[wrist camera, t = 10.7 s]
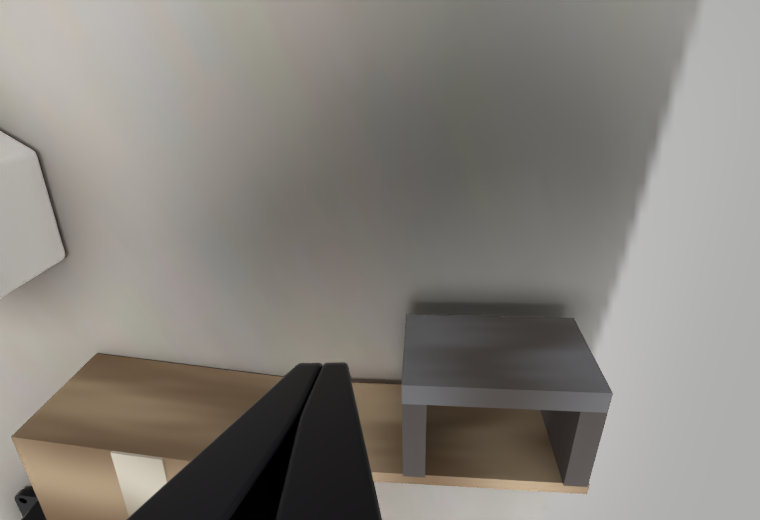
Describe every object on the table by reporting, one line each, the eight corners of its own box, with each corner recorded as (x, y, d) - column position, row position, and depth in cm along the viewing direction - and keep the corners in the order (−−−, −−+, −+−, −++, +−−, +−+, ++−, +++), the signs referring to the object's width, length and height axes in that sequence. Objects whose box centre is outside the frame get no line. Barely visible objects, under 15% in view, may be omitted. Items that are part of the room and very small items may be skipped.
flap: (570, 308, 18) (616, 393, 13) (553, 398, 20) (587, 496, 16) (299, 302, 19) (263, 379, 15) (311, 389, 21) (282, 478, 17)
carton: (301, 522, 26) (275, 624, 22) (135, 498, 27) (76, 594, 22) (300, 379, 21) (266, 474, 16) (96, 353, 21) (8, 439, 17)
